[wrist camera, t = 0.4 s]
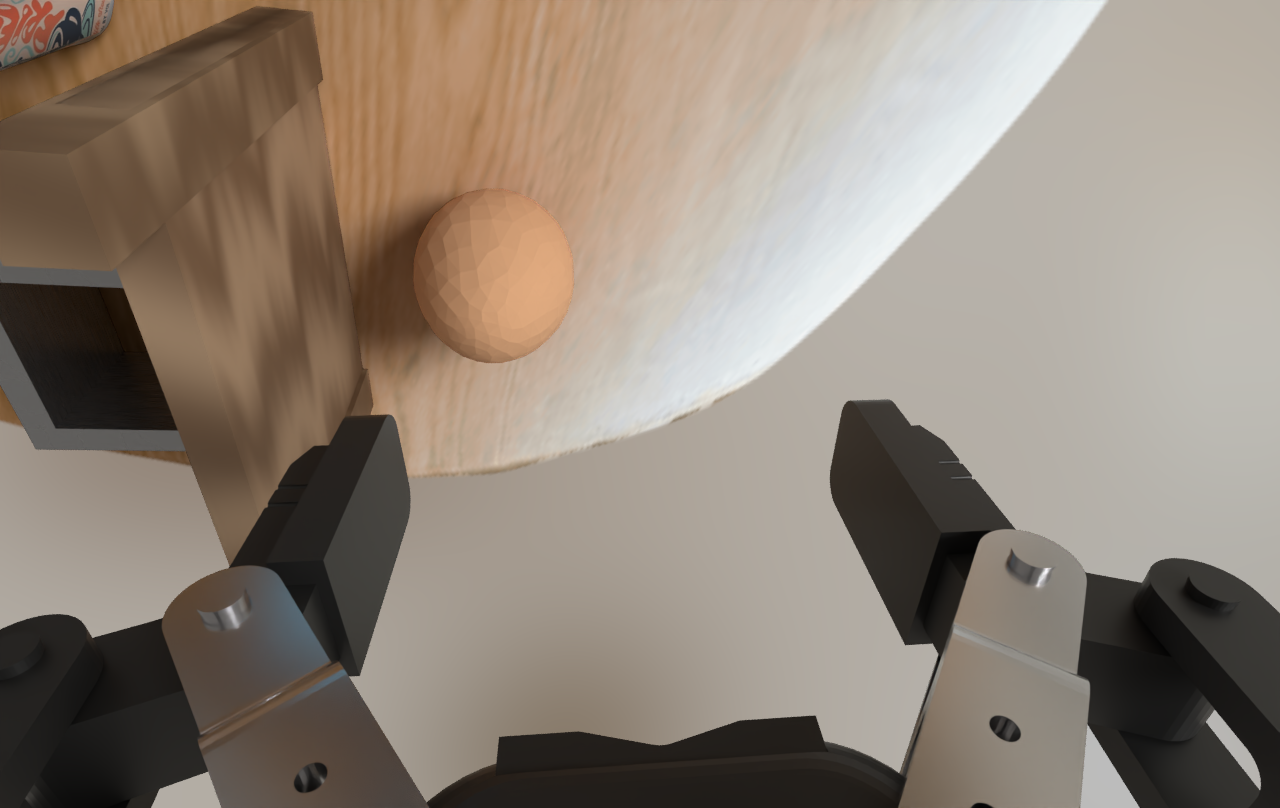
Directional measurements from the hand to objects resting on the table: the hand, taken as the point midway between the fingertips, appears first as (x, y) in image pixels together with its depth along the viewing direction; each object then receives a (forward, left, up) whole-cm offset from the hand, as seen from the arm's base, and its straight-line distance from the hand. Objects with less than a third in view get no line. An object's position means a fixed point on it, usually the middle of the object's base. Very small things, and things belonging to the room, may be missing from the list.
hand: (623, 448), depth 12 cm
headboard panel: (+7, -11, -22) cm, 25 cm away
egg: (+6, -3, -22) cm, 23 cm away
